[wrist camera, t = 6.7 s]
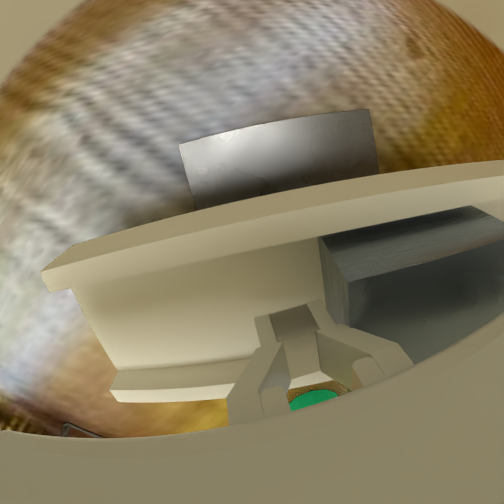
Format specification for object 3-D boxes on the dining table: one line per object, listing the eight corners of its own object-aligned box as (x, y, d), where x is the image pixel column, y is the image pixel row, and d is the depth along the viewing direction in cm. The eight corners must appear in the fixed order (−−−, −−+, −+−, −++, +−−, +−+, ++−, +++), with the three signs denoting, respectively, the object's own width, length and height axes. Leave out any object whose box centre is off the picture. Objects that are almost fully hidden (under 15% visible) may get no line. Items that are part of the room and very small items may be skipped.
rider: (461, 201, 10) (522, 232, 7) (454, 295, 12) (496, 342, 8) (316, 229, 11) (347, 281, 7) (328, 332, 13) (350, 399, 9)
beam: (510, 159, 11) (567, 177, 6) (500, 282, 14) (540, 318, 10) (73, 245, 13) (20, 289, 8) (133, 365, 16) (110, 422, 12)
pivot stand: (360, 110, 17) (417, 104, 11) (378, 289, 22) (419, 335, 16) (181, 144, 17) (159, 147, 11) (235, 328, 22) (241, 390, 16)
